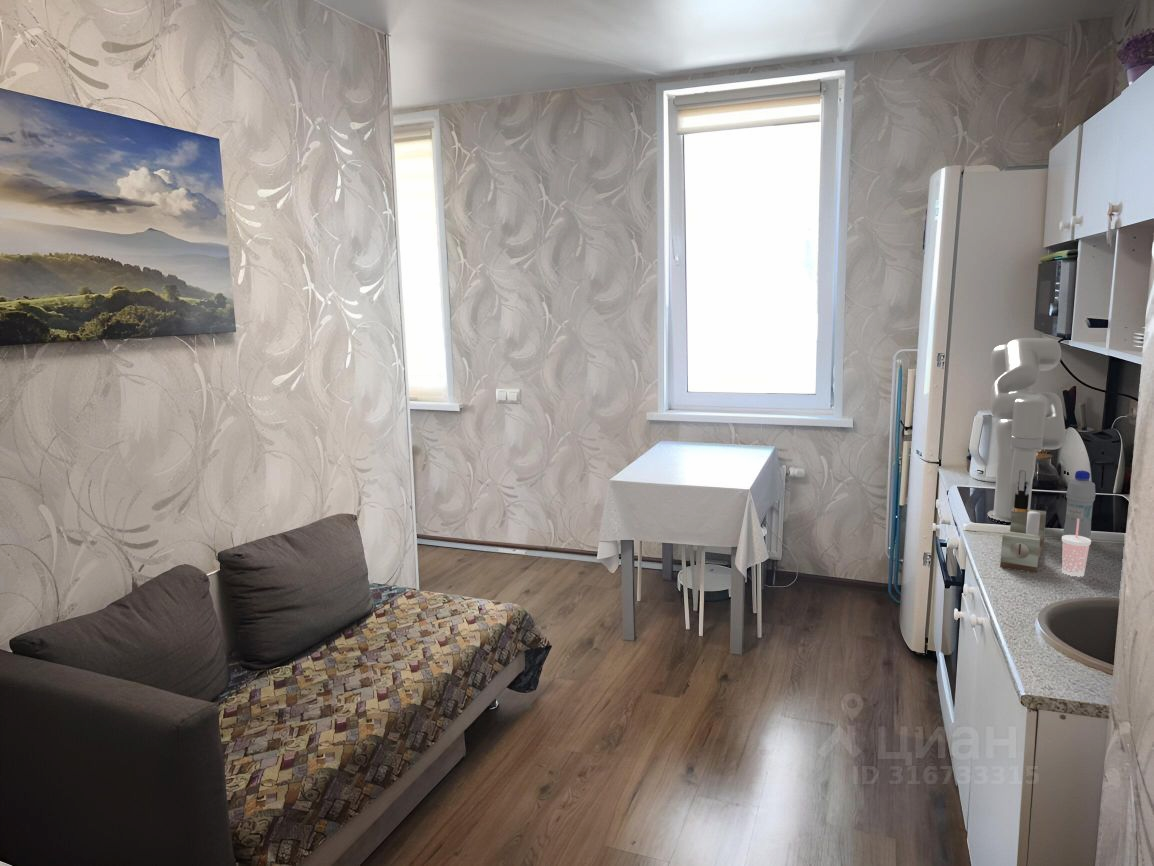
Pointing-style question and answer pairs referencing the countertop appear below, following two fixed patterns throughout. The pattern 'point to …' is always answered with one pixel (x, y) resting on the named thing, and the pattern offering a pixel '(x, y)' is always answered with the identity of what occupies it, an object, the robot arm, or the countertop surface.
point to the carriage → (1033, 523)
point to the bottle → (1079, 504)
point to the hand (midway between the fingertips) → (1020, 508)
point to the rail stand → (1022, 543)
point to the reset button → (1020, 510)
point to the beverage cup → (1075, 553)
